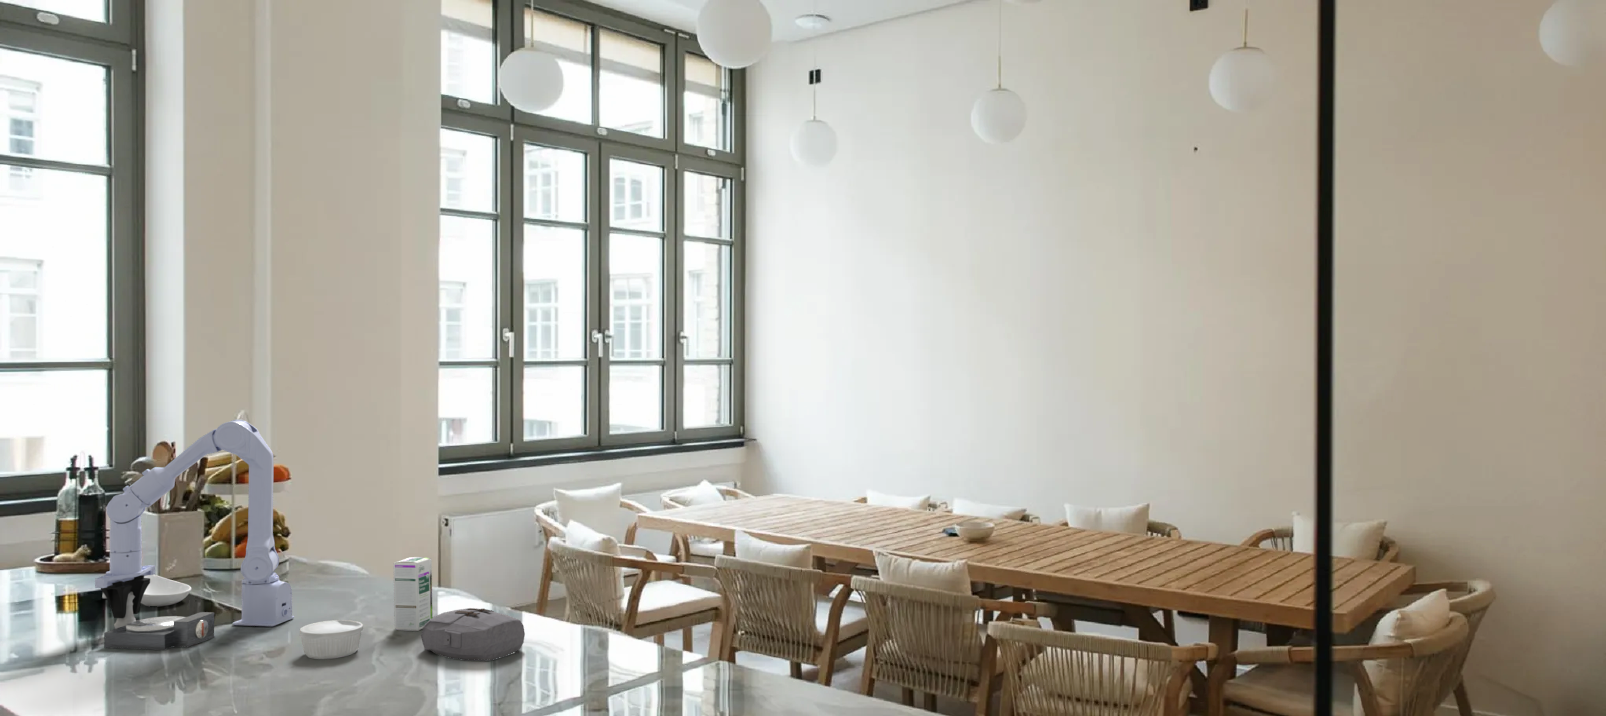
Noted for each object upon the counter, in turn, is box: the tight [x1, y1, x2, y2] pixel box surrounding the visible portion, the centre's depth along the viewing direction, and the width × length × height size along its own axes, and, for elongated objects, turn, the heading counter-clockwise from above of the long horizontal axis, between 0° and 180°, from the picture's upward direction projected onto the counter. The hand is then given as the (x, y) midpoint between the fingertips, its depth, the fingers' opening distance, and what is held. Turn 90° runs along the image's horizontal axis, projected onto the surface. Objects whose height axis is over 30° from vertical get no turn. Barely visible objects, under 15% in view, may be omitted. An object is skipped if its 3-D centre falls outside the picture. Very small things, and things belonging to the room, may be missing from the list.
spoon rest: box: [101, 573, 192, 607], centre depth 257 cm, size 24×12×7 cm, turn 68°
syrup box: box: [393, 556, 434, 632], centre depth 233 cm, size 6×6×14 cm
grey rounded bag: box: [420, 607, 526, 661], centre depth 214 cm, size 15×8×20 cm
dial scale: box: [103, 611, 215, 651], centre depth 222 cm, size 16×13×5 cm
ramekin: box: [299, 619, 364, 660], centre depth 213 cm, size 11×11×5 cm
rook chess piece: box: [113, 592, 137, 629], centre depth 229 cm, size 4×4×8 cm
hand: (125, 615), depth 229 cm, fingers closed on rook chess piece, 3 cm apart
